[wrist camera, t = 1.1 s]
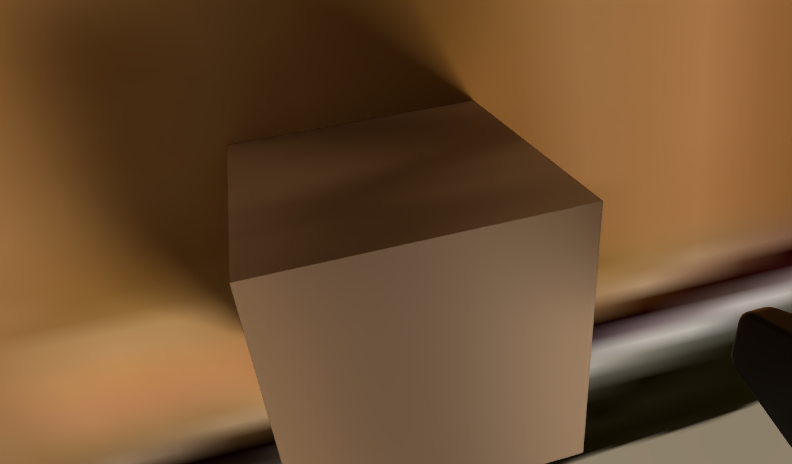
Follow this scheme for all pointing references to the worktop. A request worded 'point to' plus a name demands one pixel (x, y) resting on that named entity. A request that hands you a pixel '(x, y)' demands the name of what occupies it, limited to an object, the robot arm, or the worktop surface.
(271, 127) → the worktop surface
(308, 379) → the walnut cube
